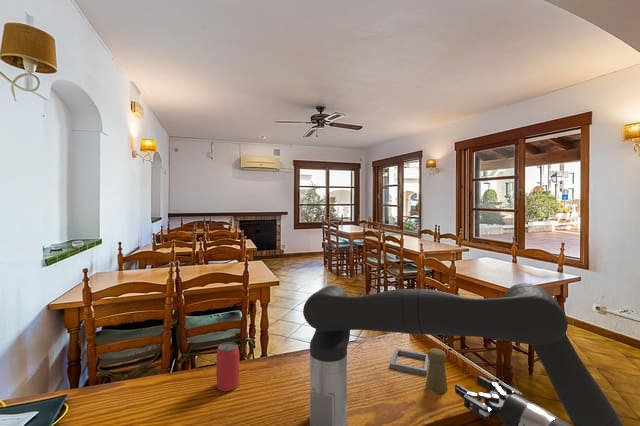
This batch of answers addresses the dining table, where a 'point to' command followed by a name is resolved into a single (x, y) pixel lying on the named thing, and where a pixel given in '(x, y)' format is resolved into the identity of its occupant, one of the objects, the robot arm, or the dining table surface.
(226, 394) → the dining table surface
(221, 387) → the beer can
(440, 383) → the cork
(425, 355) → the gray square frame
